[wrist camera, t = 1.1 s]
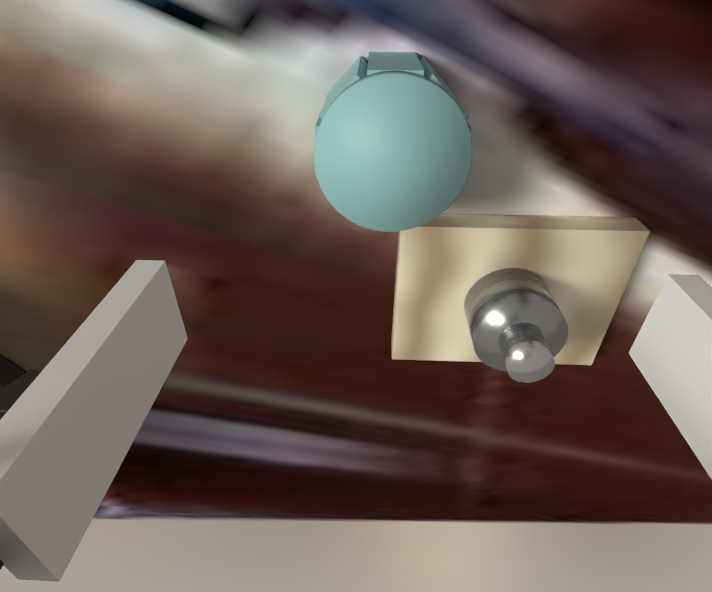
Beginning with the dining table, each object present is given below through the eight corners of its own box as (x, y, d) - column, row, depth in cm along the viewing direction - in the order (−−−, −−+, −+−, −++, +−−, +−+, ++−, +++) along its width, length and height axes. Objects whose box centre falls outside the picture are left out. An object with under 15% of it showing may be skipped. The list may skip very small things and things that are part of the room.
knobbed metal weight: (458, 332, 34) (473, 398, 29) (470, 266, 31) (490, 327, 25) (537, 335, 34) (566, 401, 29) (558, 268, 30) (596, 330, 25)
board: (391, 342, 38) (391, 359, 36) (399, 213, 31) (400, 226, 29) (582, 348, 37) (591, 365, 35) (635, 217, 30) (650, 231, 28)
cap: (329, 181, 29) (317, 230, 24) (324, 51, 25) (309, 74, 19) (444, 183, 29) (460, 233, 24) (460, 52, 25) (484, 75, 19)
